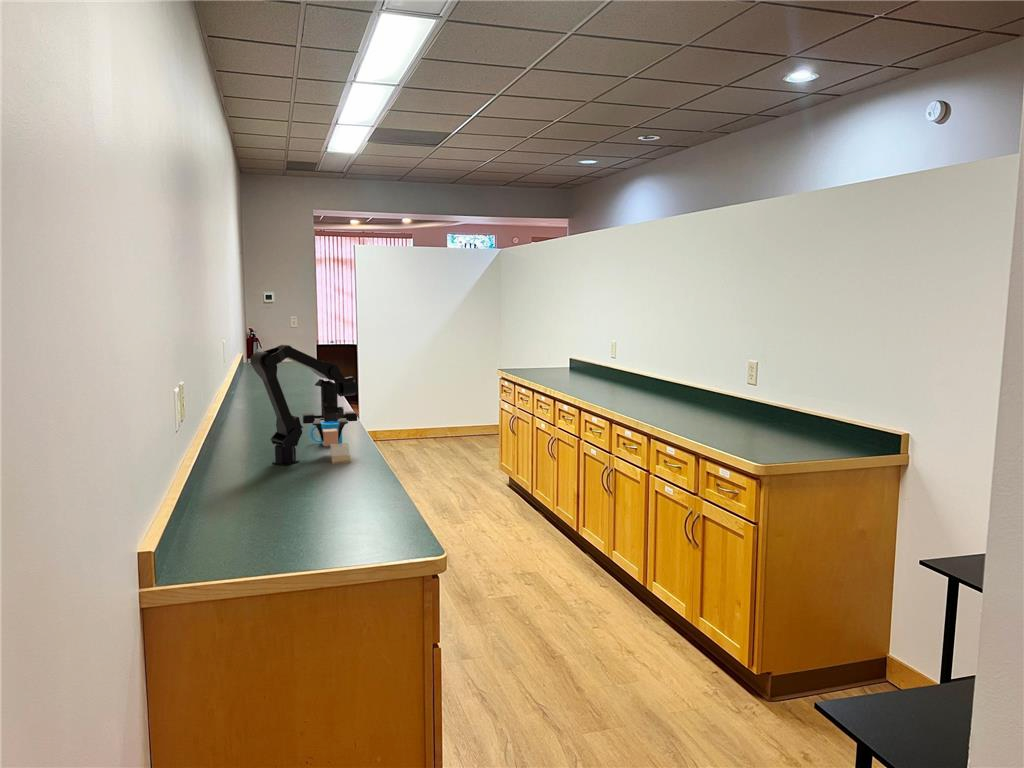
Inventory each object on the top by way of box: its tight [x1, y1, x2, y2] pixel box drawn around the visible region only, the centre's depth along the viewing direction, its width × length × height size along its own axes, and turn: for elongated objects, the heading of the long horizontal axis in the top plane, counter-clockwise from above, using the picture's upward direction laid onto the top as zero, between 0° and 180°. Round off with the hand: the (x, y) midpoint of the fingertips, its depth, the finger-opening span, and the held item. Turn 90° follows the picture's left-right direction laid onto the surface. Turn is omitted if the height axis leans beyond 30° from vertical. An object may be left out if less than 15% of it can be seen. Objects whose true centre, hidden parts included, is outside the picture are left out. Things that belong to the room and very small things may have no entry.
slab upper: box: [330, 442, 350, 457], centre depth 257 cm, size 6×6×3 cm
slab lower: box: [330, 452, 352, 465], centre depth 257 cm, size 6×6×3 cm
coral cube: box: [323, 429, 338, 447], centre depth 267 cm, size 5×5×5 cm
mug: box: [309, 420, 343, 446], centre depth 287 cm, size 12×8×8 cm
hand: (330, 441), depth 267 cm, fingers closed on coral cube, 5 cm apart
